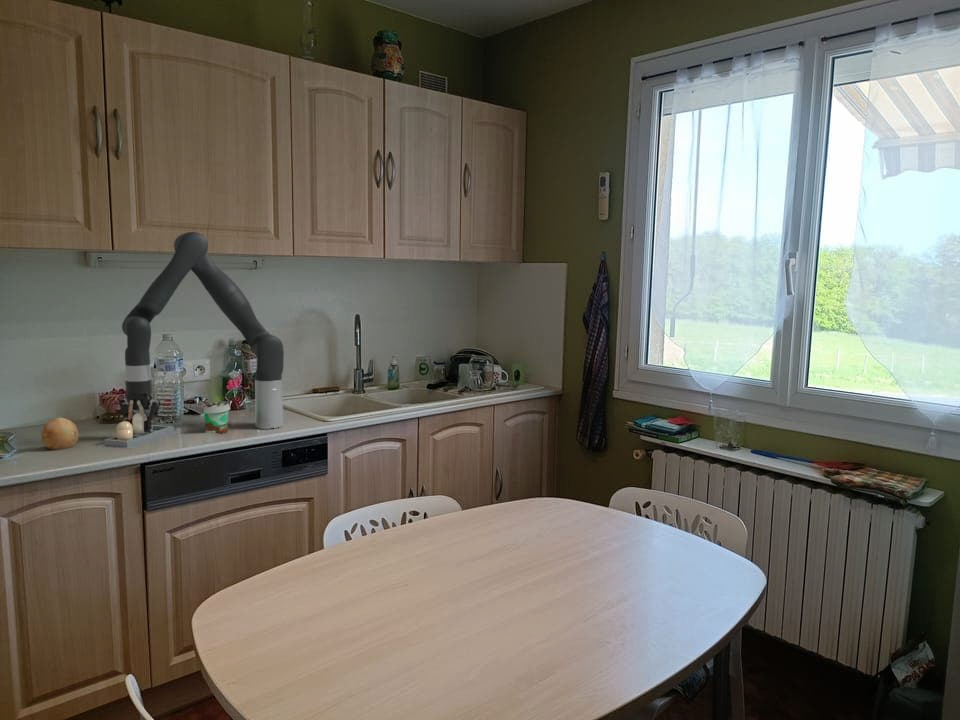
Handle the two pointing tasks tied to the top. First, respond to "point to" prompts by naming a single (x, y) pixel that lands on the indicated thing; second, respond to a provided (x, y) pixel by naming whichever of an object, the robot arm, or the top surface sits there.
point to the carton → (141, 438)
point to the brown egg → (124, 431)
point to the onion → (59, 434)
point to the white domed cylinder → (138, 424)
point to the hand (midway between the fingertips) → (140, 430)
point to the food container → (216, 417)
